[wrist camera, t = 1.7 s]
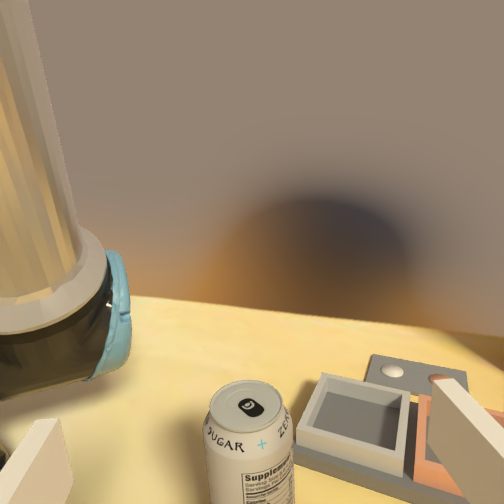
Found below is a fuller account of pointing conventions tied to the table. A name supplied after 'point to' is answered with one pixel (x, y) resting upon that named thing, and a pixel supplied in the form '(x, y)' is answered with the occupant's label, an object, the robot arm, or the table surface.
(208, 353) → the table surface
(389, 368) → the grey button plate
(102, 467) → the table surface
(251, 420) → the energy drink can
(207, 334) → the table surface
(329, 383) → the socket plate
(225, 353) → the table surface
